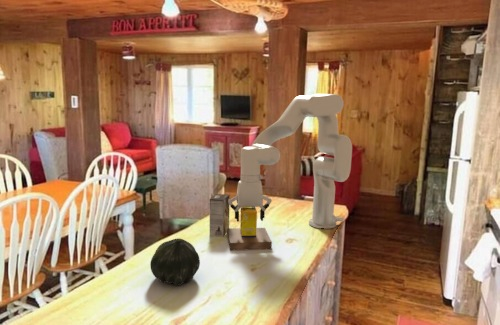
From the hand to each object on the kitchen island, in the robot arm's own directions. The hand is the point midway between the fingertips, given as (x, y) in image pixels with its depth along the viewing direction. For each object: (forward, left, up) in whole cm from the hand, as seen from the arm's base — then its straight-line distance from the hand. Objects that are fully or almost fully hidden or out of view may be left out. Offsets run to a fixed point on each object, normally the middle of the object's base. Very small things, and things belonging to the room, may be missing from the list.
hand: (249, 220), depth 156 cm
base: (0, 0, -9) cm, 9 cm away
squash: (+27, +30, -9) cm, 42 cm away
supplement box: (+1, 0, -6) cm, 6 cm away
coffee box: (+11, -11, -9) cm, 18 cm away
